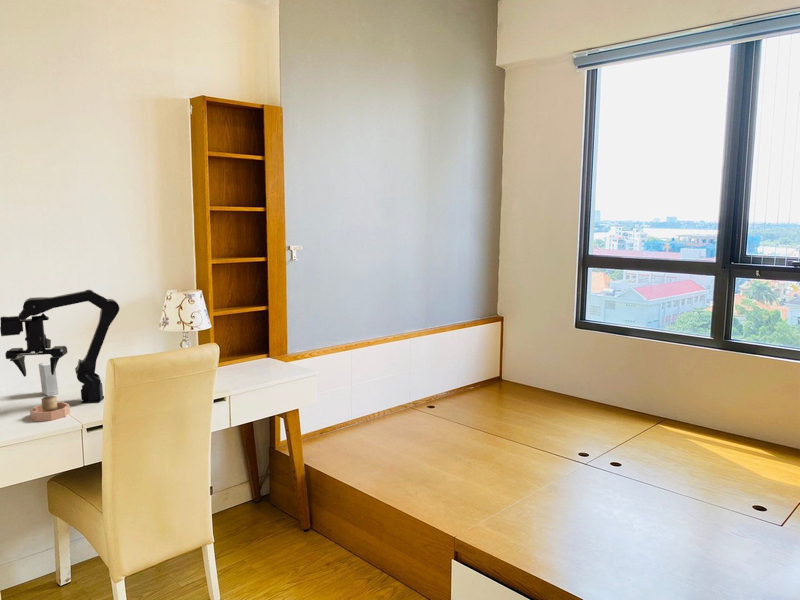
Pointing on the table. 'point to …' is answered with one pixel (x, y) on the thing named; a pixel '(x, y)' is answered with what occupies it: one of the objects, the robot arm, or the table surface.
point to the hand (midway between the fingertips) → (39, 375)
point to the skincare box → (48, 379)
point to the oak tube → (49, 403)
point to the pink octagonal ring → (39, 415)
